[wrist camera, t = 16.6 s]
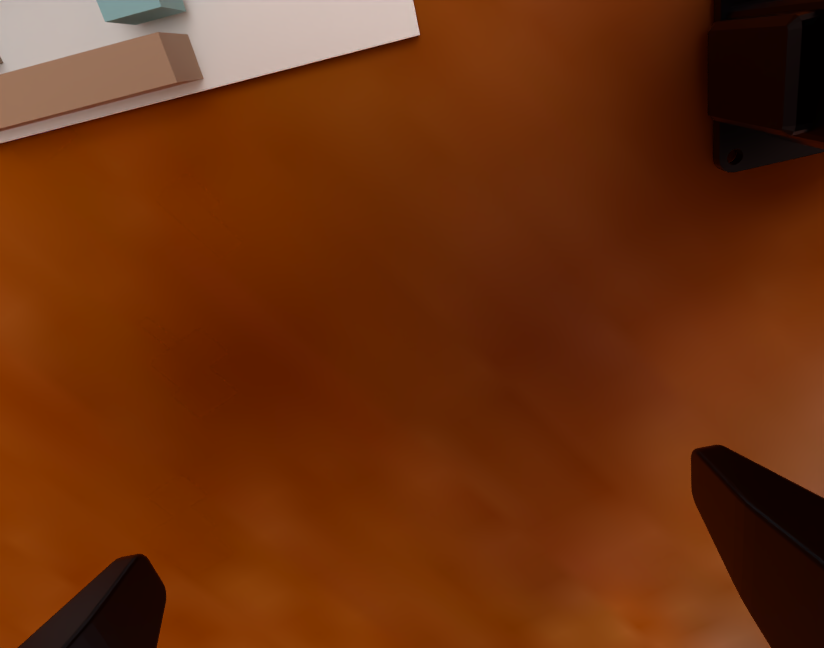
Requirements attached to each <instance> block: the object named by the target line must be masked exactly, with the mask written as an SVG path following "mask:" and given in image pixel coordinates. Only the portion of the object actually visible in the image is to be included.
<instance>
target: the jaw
mask: <svg viewBox="0 0 824 648" xmlns="http://www.w3.org/2000/svg"><path fill="white" fill-rule="evenodd" d="M96 1H97V3H98V6H99V8H100V11H101V13H102V16H103V18H104V20H105V22H111V23H121V24H131V25H138V24H141V23H145V22H149V21H152V20H156V19H160V18H164V17H167V16H171V15H175V14H178V13H182V12H186V9H185V6H184V3H183V0H96Z"/></svg>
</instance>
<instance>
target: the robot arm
mask: <svg viewBox="0 0 824 648" xmlns="http://www.w3.org/2000/svg"><path fill="white" fill-rule="evenodd" d="M708 115H709V116H710V117H712V118H713V159H714V164H715V165H716V166H717V168H719V169H721V170H724V171H727V172H737V171H742V170H746V169H751V168H755V167H759V166H764V165H768V164H773V163H777V162H782V161H786V160H790V159H795V158H799V157H804V156H808V155H812V154H817V153H821V152H824V0H714V24H713V26H712V27H711V29H710V30H709V32H708ZM734 149H736V152H737V154H736V157H735V158H734V160H733V161H731V162H729V163H728V161H727V157H728V154H729V153H730V152H731V151H732V150H734ZM691 485H692V495H693V498H694V501H695V504H696V506H697V508H698V510H699V512H700V514H701V517H702V519H703V521H704V523H705V525H706V527H707V529H708V531H709V533H710V535H711V537H712V539H713V542H714V544H715V546H716V548H717V550H718V552H719V554H720V556H721V558H722V560H723V562H724V564H725V566H726V569H727V571H728V573H729V575H730V577H731V579H732V581H733V583H734V585H735V587H736V589H737V591H738V593H739V595H740V597H741V599H742V600H743V602H744V604H745V606H746V607H747V609H748V611H749V612H750V614H751V616H752V617H753V619H754V621H755V622H756V624H757V626H758V627H759V629H760V630H761V632H762V634H763V635H764V637H765V638H766V640H767V642H768V643H769V645H770V647H771V648H824V498H822V497H820V496H819V495H817V494H815V493H813V492H811V491H809V490H807V489H805V488H803V487H801V486H799V485H798V484H796V483H794V482H792V481H790V480H788V479H786V478H784V477H782V476H780V475H778V474H776V473H775V472H773V471H771V470H769V469H767V468H765V467H763V466H761V465H759V464H757V463H755V462H753V461H752V460H750V459H748V458H746V457H744V456H742V455H740V454H738V453H736V452H734V451H732V450H730V449H729V448H727V447H724V446H722V445H712V446H707V447H702V448H697V449H695V450H694V451H693V452H692V455H691ZM165 603H166V590H165V586H164V584H163V582H162V581H161V579H160V577H159V576H158V574H157V572H156V571H155V569H154V568H153V566H152V564H151V563H150V561H149V559H148V558H147V557H146V556H144V555H143V554H135V555H130V556H125V557H121V558H118V559H116V560H115V561H114V562H112V563H111V564H110V565H109V566H108V567H107V568H106V569H105V570H103V571H102V572H101V573H100V574H99V575H98V576H97V577H96V578H95V579H93V580H92V581H91V582H90V583H89V584H88V585H87V586H86V587H85V588H84V589H82V590H81V591H80V592H79V593H78V594H77V595H76V596H75V597H74V598H72V599H71V600H70V601H69V602H68V603H67V604H66V605H65V606H64V607H62V608H61V609H60V610H59V611H58V612H57V613H56V614H55V615H54V616H52V617H51V618H50V619H49V620H48V621H47V622H46V623H45V624H44V625H42V626H41V627H40V628H39V629H38V630H37V631H36V632H35V633H34V634H32V635H31V636H30V637H29V638H28V639H27V640H26V641H25V642H24V643H22V644H21V645H20V646H19V647H18V648H157V643H158V638H159V633H160V628H161V623H162V618H163V613H164V608H165Z"/></svg>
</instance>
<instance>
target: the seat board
mask: <svg viewBox="0 0 824 648" xmlns="http://www.w3.org/2000/svg"><path fill="white" fill-rule="evenodd" d="M183 3H184V6H185V9H186V12H182V13H178V14H175V15H171V16H167V17H164V18H160V19H156V20H152V21H149V22H145V23H141V24H138V25H131V24H121V23H111V22H105V20H104V18H103V16H102V13H101V11H100V8H99V6H98V3H97V1H96V0H0V143H4V142H8V141H12V140H16V139H20V138H24V137H28V136H31V135H35V134H39V133H43V132H47V131H51V130H55V129H59V128H62V127H66V126H70V125H74V124H78V123H82V122H86V121H90V120H93V119H97V118H101V117H105V116H109V115H113V114H117V113H121V112H124V111H128V110H132V109H136V108H140V107H144V106H148V105H152V104H155V103H159V102H163V101H167V100H171V99H175V98H179V97H183V96H186V95H190V94H194V93H198V92H202V91H206V90H210V89H214V88H217V87H221V86H225V85H229V84H233V83H237V82H241V81H245V80H248V79H252V78H256V77H260V76H264V75H268V74H272V73H276V72H279V71H283V70H287V69H291V68H295V67H299V66H303V65H307V64H310V63H314V62H318V61H322V60H326V59H330V58H334V57H338V56H341V55H345V54H349V53H353V52H357V51H361V50H365V49H369V48H372V47H376V46H380V45H384V44H388V43H392V42H396V41H400V40H403V39H407V38H411V37H415V36H419V35H420V33H419V28H418V23H417V18H416V13H415V8H414V3H413V0H183Z"/></svg>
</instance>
